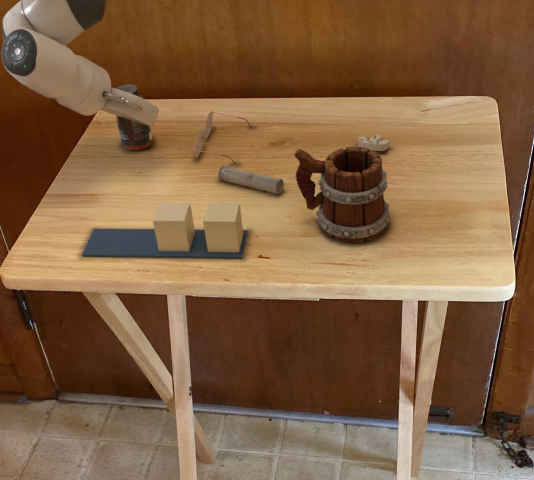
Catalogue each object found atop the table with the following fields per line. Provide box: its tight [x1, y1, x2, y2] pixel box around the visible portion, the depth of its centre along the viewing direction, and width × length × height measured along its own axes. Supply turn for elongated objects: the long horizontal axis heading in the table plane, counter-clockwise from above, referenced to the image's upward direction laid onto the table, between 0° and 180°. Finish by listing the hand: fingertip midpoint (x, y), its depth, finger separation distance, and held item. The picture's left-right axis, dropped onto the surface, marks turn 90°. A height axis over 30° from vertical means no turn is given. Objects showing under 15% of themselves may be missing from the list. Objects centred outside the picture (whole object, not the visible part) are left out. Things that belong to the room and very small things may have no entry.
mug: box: [293, 146, 390, 244], centre depth 128 cm, size 12×14×15 cm
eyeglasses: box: [192, 110, 253, 165], centre depth 152 cm, size 14×8×4 cm, turn 168°
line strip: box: [81, 228, 249, 260], centre depth 132 cm, size 26×7×1 cm, turn 83°
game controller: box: [356, 134, 390, 152], centre depth 145 cm, size 6×12×3 cm, turn 173°
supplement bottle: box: [114, 84, 154, 151], centre depth 152 cm, size 6×6×11 cm
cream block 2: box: [202, 202, 244, 252], centre depth 128 cm, size 5×5×6 cm
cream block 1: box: [152, 201, 196, 252], centre depth 129 cm, size 5×5×6 cm
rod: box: [217, 165, 285, 195], centre depth 141 cm, size 12×3×3 cm, turn 61°
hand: (134, 114), depth 152 cm, fingers closed on supplement bottle, 6 cm apart
